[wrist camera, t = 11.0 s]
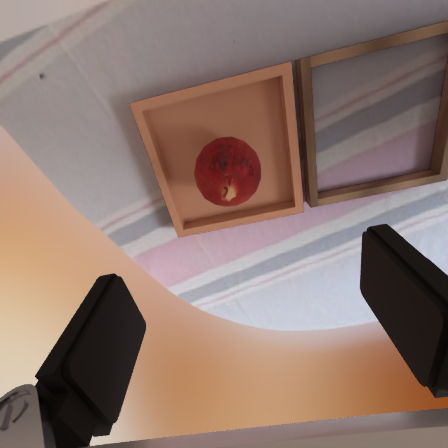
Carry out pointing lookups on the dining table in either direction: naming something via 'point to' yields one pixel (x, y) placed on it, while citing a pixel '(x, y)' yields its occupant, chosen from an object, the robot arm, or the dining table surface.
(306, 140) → the walnut frame
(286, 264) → the dining table surface
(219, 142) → the onion
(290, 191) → the terracotta tray
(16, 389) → the robot arm
